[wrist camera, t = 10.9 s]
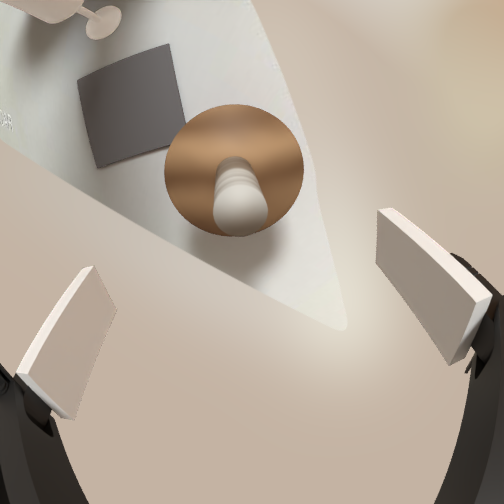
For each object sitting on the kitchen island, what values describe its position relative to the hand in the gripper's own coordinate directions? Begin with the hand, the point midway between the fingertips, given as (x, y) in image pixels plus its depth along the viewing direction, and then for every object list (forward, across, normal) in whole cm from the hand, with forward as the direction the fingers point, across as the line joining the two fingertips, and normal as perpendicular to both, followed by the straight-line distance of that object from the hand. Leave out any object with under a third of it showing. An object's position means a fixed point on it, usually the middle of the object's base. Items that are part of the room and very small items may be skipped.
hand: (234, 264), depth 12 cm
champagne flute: (+32, -16, +29) cm, 46 cm away
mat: (+32, -14, +12) cm, 37 cm away
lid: (+20, 0, 0) cm, 20 cm away
